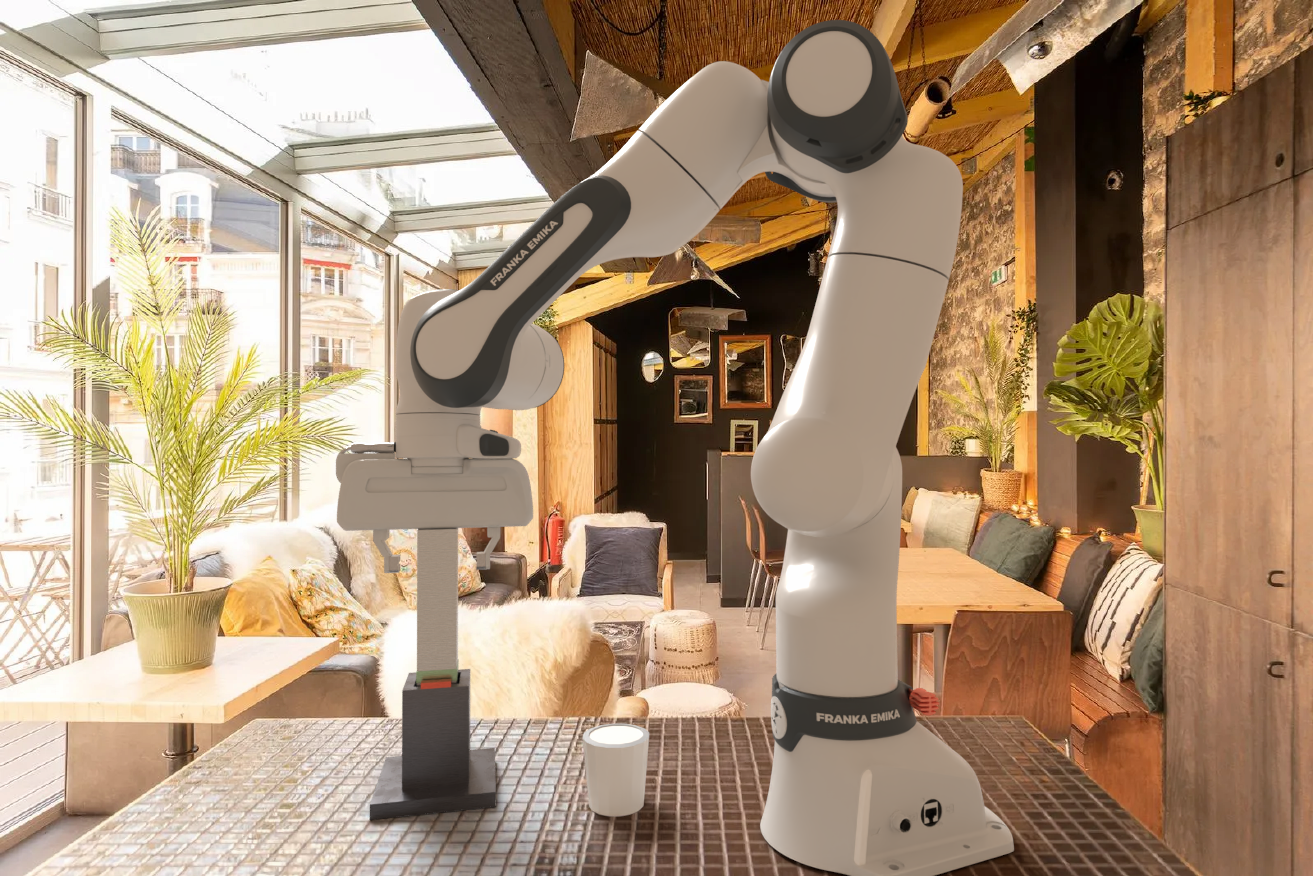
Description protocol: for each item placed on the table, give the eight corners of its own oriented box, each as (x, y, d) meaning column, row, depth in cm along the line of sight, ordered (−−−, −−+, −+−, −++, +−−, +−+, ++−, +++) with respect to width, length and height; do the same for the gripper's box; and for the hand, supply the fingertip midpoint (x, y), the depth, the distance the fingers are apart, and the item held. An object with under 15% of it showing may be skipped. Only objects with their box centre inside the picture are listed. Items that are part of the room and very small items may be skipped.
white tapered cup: (642, 822, 72) (641, 749, 73) (573, 816, 74) (573, 744, 74) (656, 791, 79) (655, 724, 79) (593, 786, 80) (593, 720, 81)
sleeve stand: (494, 760, 87) (494, 655, 88) (495, 807, 76) (495, 685, 76) (386, 770, 85) (386, 662, 85) (369, 820, 73) (370, 694, 74)
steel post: (458, 689, 83) (458, 525, 84) (456, 700, 79) (457, 529, 80) (419, 692, 82) (420, 526, 83) (416, 703, 78) (416, 530, 79)
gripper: (329, 441, 76) (329, 579, 76) (534, 441, 81) (534, 571, 80) (341, 443, 82) (341, 570, 82) (530, 442, 87) (531, 563, 86)
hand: (438, 570), depth 81 cm, fingers open, 8 cm apart
